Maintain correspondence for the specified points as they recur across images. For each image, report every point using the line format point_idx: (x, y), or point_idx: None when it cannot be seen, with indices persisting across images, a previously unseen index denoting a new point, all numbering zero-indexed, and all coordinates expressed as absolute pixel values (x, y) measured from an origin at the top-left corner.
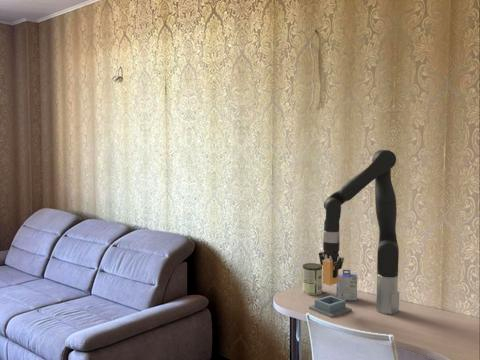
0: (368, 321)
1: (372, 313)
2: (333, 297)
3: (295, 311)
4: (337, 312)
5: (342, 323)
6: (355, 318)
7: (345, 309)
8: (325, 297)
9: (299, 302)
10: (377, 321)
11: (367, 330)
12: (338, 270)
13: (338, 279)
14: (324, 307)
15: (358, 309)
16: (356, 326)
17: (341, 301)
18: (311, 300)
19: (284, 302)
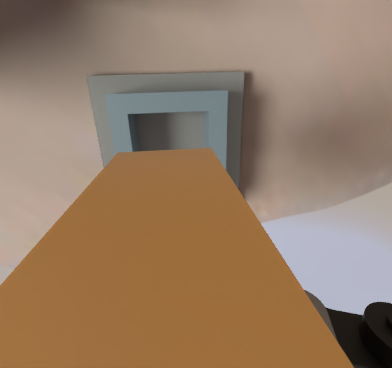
0: (358, 113)
1: (333, 8)
2: (147, 110)
3: None
4: (232, 166)
5: (293, 207)
6: (303, 133)
7: (232, 108)
8: (122, 148)
9: (29, 197)
10: (388, 80)
11: (386, 182)
12: (248, 210)
13: (217, 157)
14: None
15: (254, 23)
16: (343, 187)
17: (221, 123)
18: (25, 133)
19: (3, 245)
